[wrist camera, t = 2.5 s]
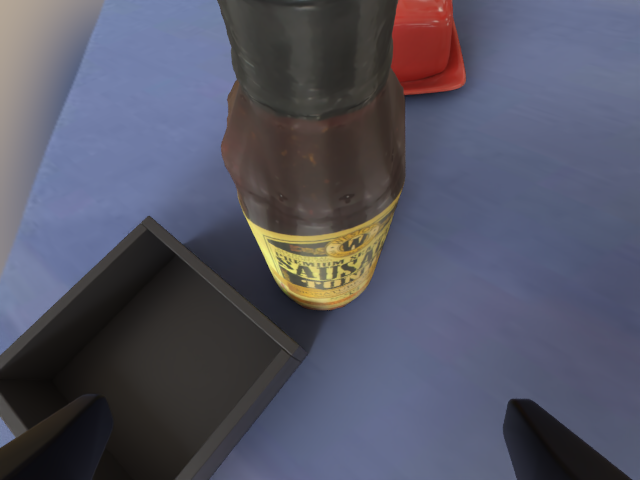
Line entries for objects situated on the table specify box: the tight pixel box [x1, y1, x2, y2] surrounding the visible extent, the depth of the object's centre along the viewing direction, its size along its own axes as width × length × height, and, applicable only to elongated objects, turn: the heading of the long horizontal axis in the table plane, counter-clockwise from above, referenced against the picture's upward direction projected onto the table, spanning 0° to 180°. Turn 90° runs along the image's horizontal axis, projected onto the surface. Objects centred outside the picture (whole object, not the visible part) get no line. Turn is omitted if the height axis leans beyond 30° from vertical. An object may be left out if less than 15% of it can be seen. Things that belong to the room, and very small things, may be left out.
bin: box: [0, 216, 308, 480], centre depth 19 cm, size 11×11×4 cm
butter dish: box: [391, 0, 466, 95], centre depth 26 cm, size 12×12×8 cm
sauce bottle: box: [217, 0, 405, 310], centre depth 14 cm, size 6×6×20 cm
